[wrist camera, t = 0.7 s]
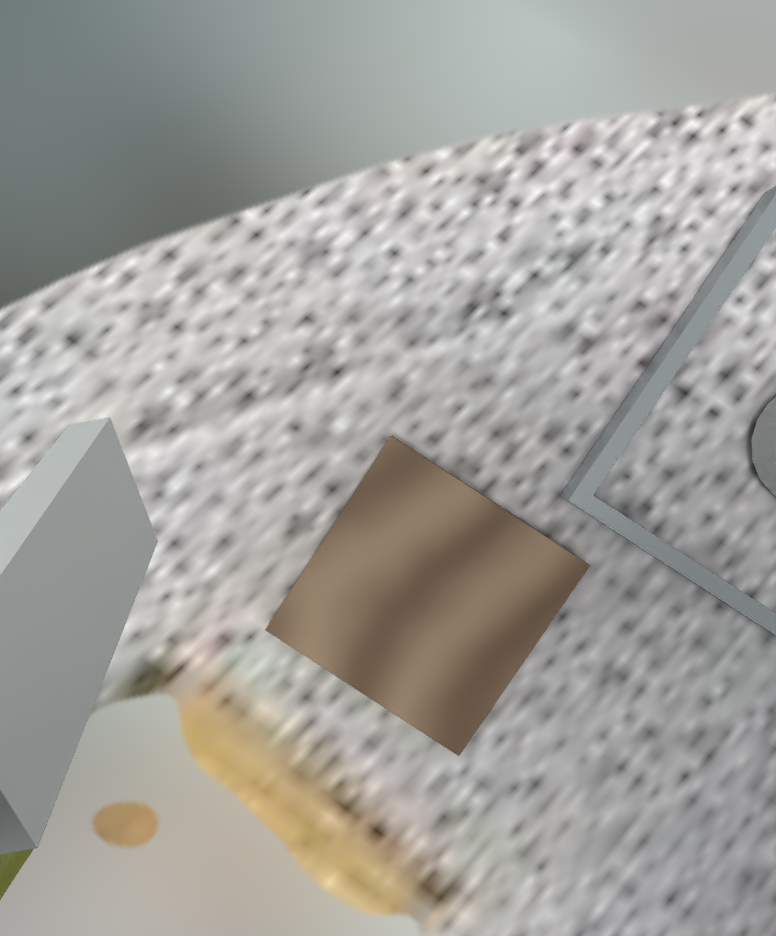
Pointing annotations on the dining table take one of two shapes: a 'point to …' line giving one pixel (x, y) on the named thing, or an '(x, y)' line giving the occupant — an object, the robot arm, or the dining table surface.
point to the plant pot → (11, 867)
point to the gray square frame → (646, 392)
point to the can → (766, 446)
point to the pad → (426, 596)
